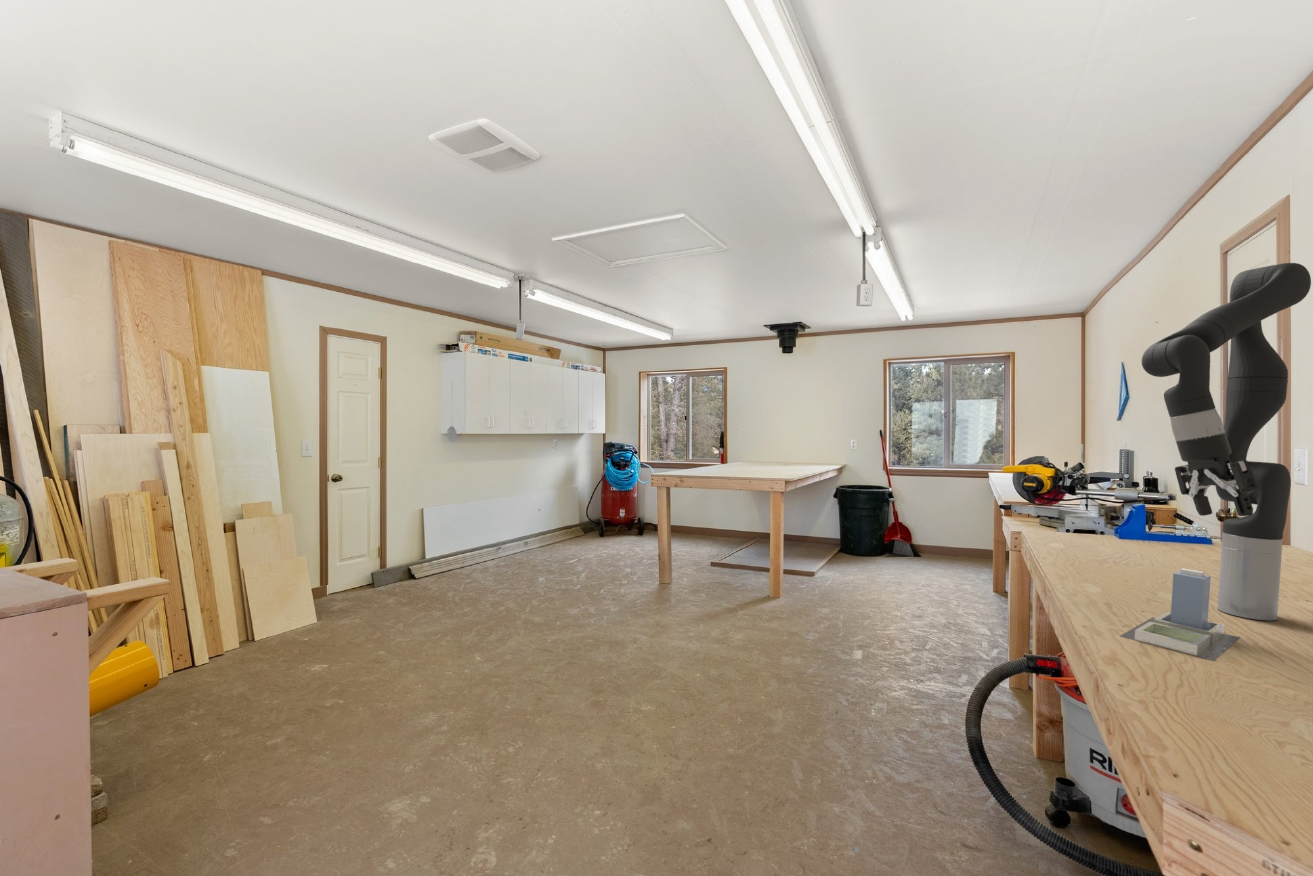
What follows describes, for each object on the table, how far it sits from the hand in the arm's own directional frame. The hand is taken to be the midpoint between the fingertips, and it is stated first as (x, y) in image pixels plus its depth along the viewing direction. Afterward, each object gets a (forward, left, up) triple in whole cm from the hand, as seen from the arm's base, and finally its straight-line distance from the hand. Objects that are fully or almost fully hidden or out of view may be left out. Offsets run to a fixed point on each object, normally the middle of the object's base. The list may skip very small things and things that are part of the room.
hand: (1225, 515), depth 116 cm
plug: (+9, -3, -22) cm, 24 cm away
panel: (+14, -3, -23) cm, 27 cm away
